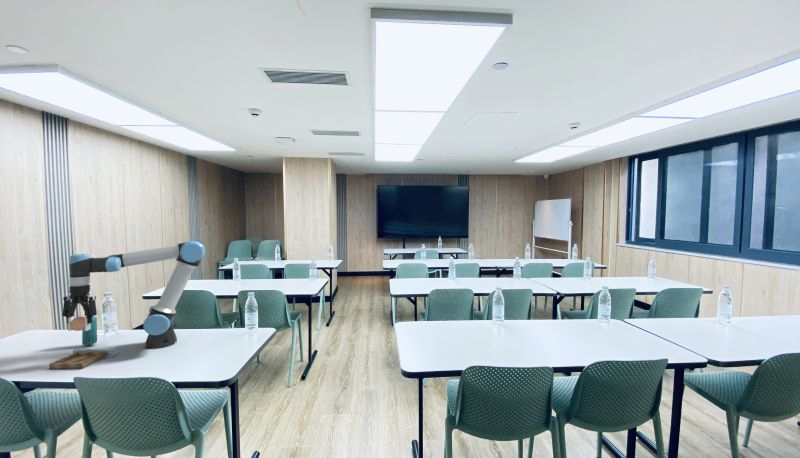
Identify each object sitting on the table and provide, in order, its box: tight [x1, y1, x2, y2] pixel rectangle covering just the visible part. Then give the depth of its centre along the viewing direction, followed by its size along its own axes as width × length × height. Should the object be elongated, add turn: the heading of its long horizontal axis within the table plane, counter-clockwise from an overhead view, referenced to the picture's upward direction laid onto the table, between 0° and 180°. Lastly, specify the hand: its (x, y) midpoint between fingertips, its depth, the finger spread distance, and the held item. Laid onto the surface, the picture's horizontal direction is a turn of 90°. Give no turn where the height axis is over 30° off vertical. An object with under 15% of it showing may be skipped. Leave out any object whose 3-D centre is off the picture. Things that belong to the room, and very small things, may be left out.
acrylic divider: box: [72, 348, 119, 359], centre depth 177 cm, size 21×5×4 cm, turn 95°
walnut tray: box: [48, 352, 107, 370], centre depth 168 cm, size 15×15×3 cm
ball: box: [70, 315, 86, 332], centre depth 168 cm, size 7×7×7 cm
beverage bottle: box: [81, 313, 98, 346], centre depth 190 cm, size 6×7×20 cm
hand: (79, 329), depth 168 cm, fingers closed on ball, 7 cm apart
